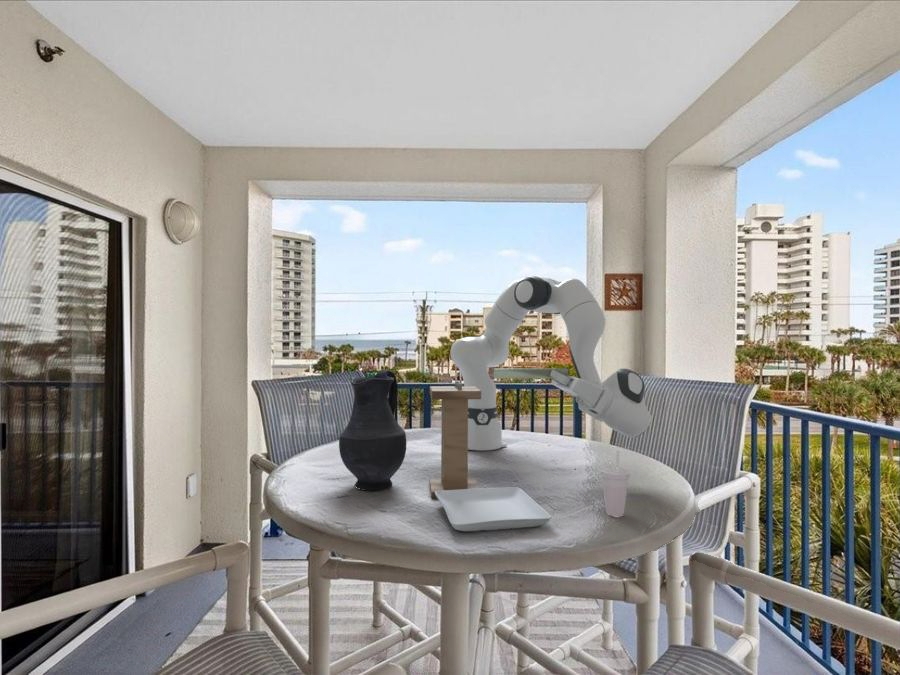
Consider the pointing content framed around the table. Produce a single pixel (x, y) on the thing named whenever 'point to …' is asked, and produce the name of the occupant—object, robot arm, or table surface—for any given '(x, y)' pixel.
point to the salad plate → (491, 509)
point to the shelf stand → (454, 437)
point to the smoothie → (615, 488)
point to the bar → (526, 373)
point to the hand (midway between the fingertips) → (548, 371)
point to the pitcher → (373, 432)
